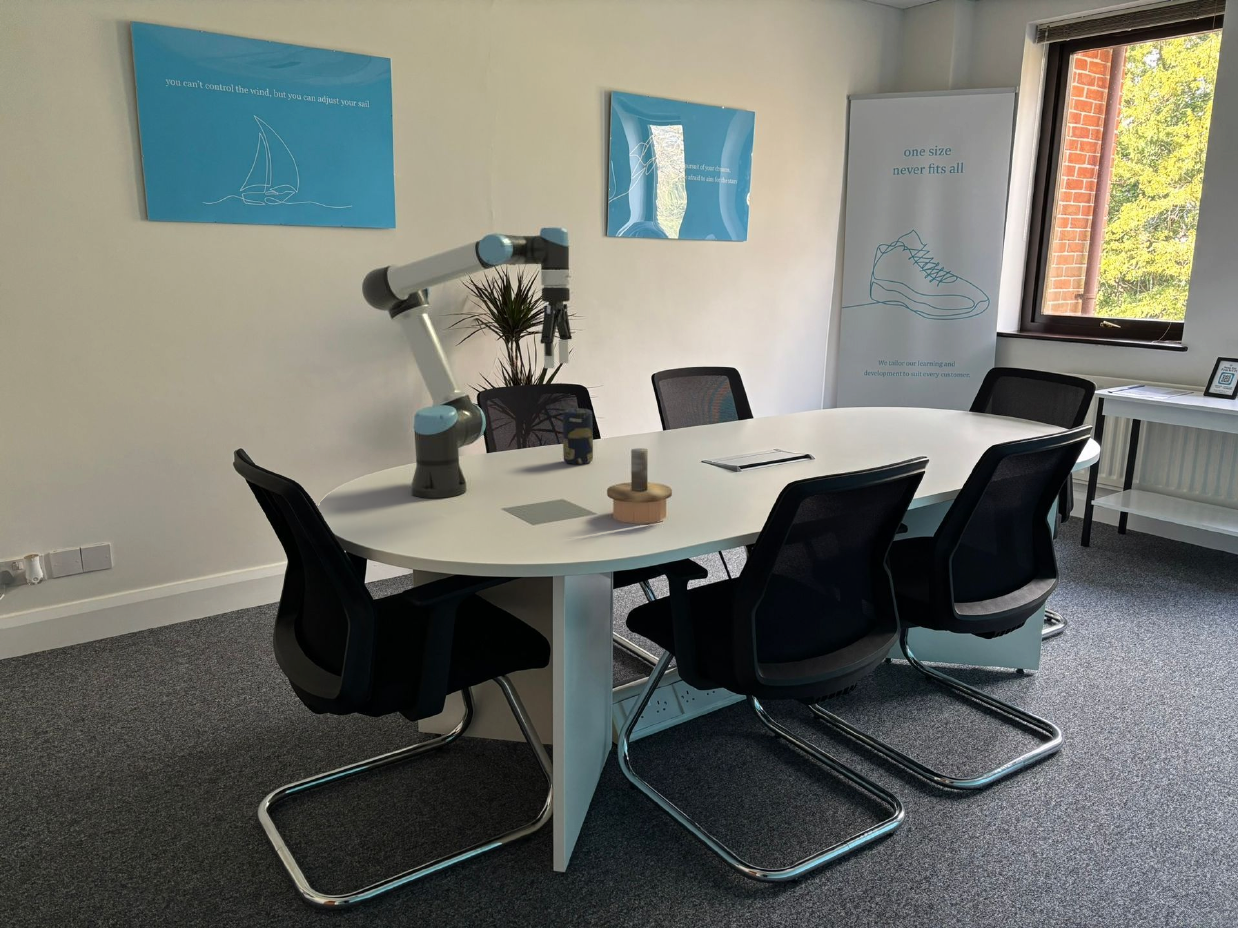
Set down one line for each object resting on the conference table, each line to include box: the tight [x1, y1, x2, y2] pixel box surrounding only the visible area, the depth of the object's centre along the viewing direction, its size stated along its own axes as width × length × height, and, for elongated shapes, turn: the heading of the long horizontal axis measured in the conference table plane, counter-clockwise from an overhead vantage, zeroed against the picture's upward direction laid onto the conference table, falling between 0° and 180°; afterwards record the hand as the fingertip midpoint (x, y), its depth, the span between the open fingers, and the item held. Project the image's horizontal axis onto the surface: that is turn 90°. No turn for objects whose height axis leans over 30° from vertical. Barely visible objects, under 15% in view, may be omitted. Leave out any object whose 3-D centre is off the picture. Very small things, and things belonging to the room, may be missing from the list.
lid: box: [606, 447, 673, 503], centre depth 222 cm, size 16×16×11 cm
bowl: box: [612, 499, 667, 526], centre depth 223 cm, size 13×13×6 cm
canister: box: [562, 406, 594, 465], centre depth 287 cm, size 10×10×18 cm
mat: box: [501, 498, 598, 526], centre depth 228 cm, size 18×18×1 cm
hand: (557, 365), depth 247 cm, fingers open, 13 cm apart
